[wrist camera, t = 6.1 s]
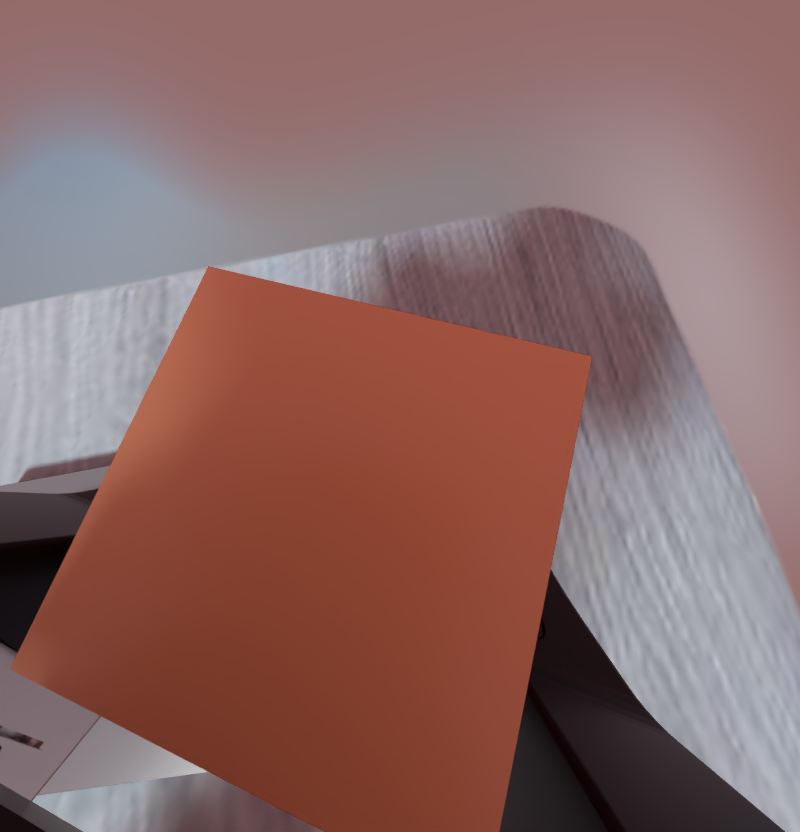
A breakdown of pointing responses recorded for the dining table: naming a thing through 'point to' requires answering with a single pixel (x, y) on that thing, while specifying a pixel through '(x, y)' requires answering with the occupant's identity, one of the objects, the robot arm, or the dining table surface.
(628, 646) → the dining table surface
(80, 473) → the board
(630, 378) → the dining table surface
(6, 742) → the robot arm
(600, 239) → the dining table surface
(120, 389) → the dining table surface
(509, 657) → the orange square prism
